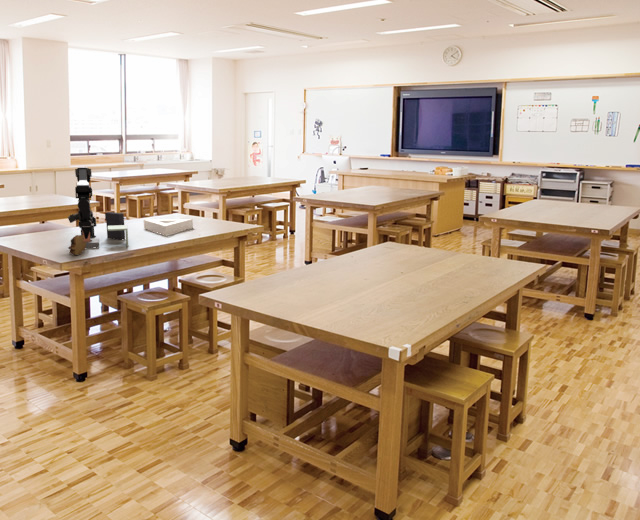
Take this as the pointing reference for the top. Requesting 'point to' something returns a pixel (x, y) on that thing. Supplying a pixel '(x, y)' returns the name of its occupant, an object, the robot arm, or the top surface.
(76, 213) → the robot arm
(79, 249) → the wooden carving
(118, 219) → the black flat block
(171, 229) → the white slab
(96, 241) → the socket block
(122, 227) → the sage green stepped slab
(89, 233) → the peg
